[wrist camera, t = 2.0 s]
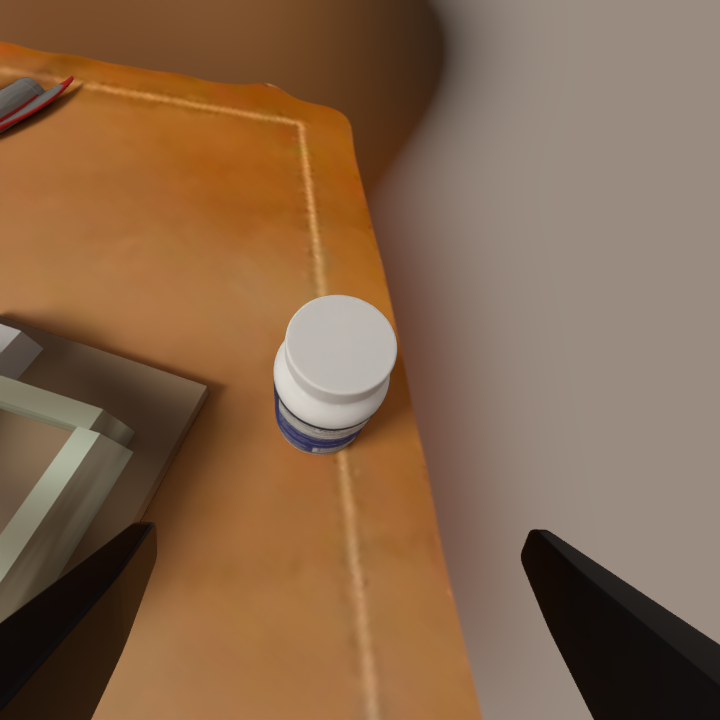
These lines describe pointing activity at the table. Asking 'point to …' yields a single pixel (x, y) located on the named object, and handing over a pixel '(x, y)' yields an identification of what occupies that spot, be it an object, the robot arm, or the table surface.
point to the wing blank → (16, 352)
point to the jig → (80, 455)
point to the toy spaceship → (25, 100)
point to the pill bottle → (332, 372)
